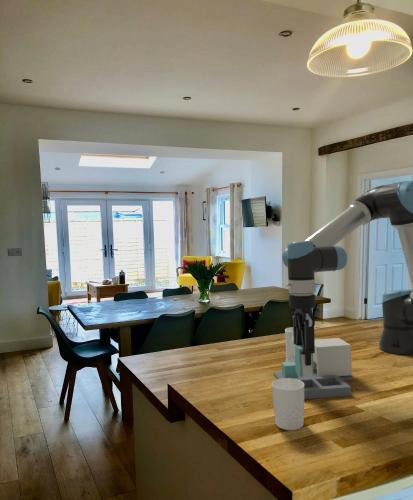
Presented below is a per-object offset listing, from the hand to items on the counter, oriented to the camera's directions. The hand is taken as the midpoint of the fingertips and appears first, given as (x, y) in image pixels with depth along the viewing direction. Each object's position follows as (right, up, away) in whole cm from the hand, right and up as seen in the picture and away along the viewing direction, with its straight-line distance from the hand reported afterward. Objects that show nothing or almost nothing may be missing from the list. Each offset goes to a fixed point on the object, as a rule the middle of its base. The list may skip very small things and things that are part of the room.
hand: (304, 372), depth 115 cm
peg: (0, 0, 0) cm, 0 cm away
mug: (+4, -5, +27) cm, 27 cm away
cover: (+11, -3, +12) cm, 17 cm away
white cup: (-9, -7, -19) cm, 22 cm away
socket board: (+4, -5, 0) cm, 7 cm away
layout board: (+5, -5, +12) cm, 14 cm away
